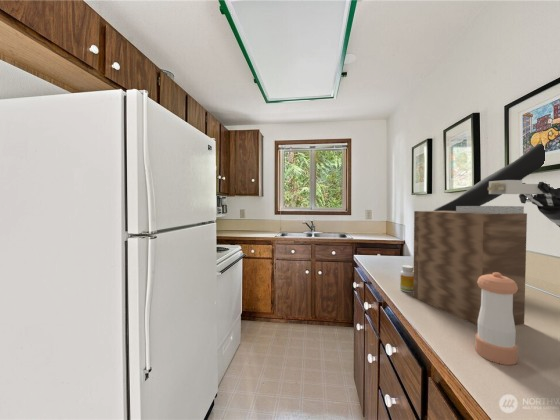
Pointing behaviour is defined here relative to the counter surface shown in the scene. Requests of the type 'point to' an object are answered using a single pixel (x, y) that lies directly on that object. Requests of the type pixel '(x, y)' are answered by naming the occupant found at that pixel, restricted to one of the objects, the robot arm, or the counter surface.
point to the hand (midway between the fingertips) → (530, 184)
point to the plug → (513, 187)
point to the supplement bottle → (407, 278)
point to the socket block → (490, 209)
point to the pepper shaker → (496, 319)
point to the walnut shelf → (467, 259)
